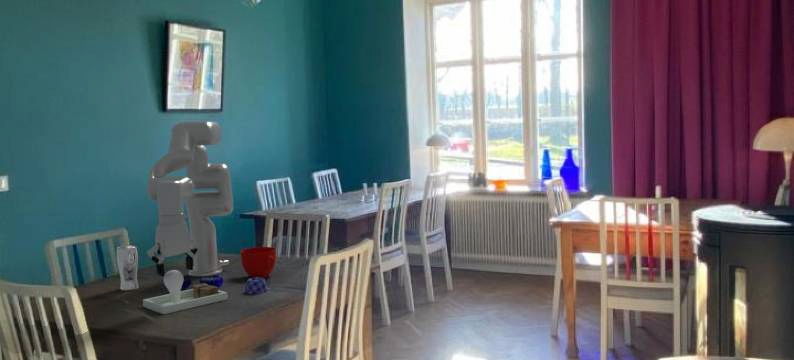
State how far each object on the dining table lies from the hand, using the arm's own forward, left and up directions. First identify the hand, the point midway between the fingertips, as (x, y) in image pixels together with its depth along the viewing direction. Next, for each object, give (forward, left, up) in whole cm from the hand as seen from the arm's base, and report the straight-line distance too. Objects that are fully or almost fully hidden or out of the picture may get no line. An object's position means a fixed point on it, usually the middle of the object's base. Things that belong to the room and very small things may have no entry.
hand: (175, 272), depth 226 cm
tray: (-3, +1, -11) cm, 11 cm away
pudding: (-26, +6, -12) cm, 29 cm away
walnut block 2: (-10, +3, -10) cm, 14 cm away
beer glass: (-1, -37, -11) cm, 39 cm away
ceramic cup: (-41, -13, -11) cm, 44 cm away
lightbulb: (0, 0, -10) cm, 10 cm away
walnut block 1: (-10, -2, -10) cm, 14 cm away
